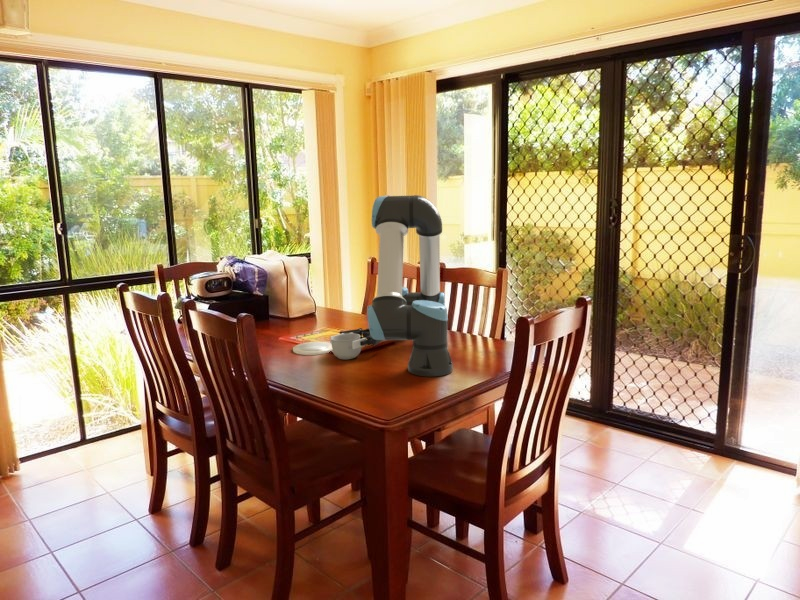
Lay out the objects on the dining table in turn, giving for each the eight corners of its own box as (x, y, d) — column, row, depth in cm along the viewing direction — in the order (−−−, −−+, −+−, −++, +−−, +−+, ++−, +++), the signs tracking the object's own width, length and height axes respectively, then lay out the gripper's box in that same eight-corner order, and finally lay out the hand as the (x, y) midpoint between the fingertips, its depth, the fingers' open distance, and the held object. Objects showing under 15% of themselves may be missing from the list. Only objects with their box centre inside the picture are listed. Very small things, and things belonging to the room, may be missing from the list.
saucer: (341, 351, 225) (341, 348, 225) (301, 357, 218) (301, 354, 218) (325, 342, 239) (325, 339, 239) (287, 347, 232) (287, 344, 231)
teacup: (353, 362, 210) (352, 340, 209) (326, 360, 214) (325, 338, 213) (370, 352, 223) (369, 331, 221) (344, 350, 227) (343, 329, 225)
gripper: (405, 345, 224) (365, 358, 208) (361, 335, 239) (320, 347, 223) (405, 325, 223) (364, 337, 206) (361, 317, 238) (319, 328, 221)
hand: (341, 342), depth 214 cm, fingers closed on teacup, 11 cm apart
